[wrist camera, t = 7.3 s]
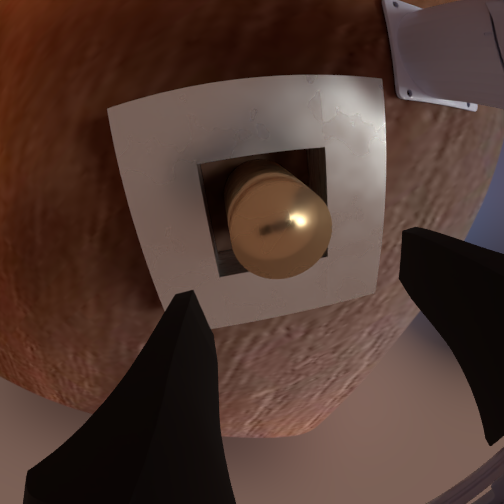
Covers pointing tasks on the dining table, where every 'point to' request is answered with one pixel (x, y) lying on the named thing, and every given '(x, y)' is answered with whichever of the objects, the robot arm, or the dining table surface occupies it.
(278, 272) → the cylinder
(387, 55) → the dining table surface
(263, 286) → the square stone frame
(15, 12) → the dining table surface
